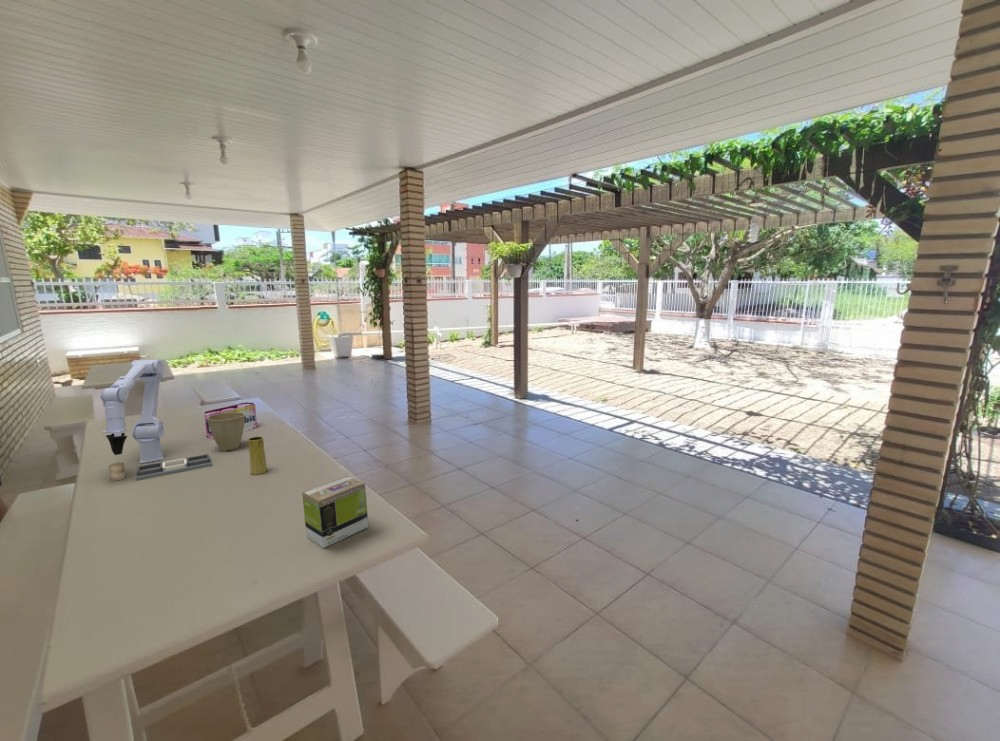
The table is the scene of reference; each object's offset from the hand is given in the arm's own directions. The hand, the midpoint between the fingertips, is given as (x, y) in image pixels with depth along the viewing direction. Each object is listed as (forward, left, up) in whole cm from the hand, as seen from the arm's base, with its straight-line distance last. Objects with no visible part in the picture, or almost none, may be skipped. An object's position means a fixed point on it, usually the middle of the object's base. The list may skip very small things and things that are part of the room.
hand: (117, 453), depth 169 cm
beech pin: (-1, -1, -11) cm, 11 cm away
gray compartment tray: (0, +17, -11) cm, 20 cm away
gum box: (-44, +42, -11) cm, 62 cm away
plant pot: (-15, +38, -11) cm, 42 cm away
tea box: (+92, +55, -11) cm, 108 cm away
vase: (+25, +44, -11) cm, 52 cm away
